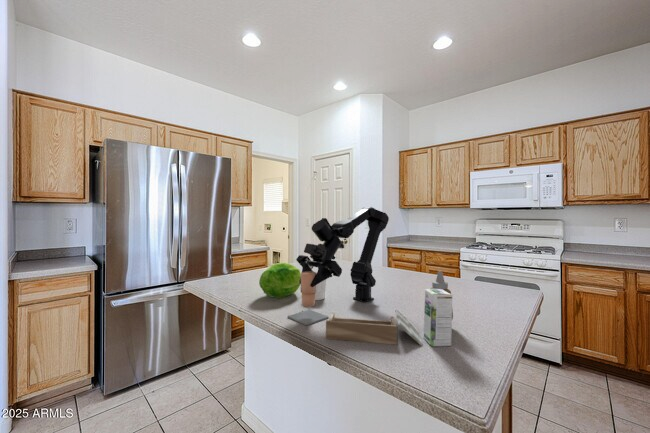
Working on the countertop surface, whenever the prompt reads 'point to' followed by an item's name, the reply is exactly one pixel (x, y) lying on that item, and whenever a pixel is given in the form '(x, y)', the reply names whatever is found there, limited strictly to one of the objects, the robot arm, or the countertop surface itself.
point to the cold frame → (369, 329)
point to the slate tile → (308, 317)
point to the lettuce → (280, 280)
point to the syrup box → (438, 317)
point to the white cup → (320, 290)
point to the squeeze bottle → (441, 284)
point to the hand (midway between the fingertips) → (305, 284)
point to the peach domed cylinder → (308, 288)
